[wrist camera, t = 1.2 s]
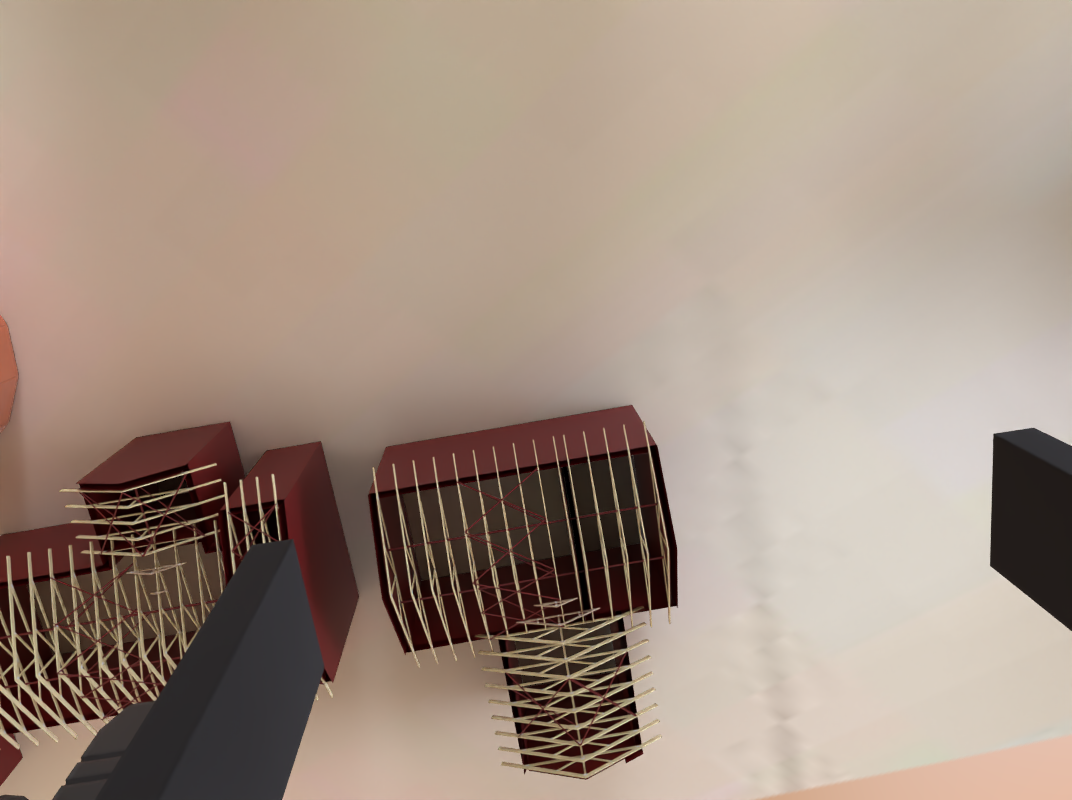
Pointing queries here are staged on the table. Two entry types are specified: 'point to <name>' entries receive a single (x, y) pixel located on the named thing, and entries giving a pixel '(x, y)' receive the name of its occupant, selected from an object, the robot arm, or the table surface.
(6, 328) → the terracotta cooler
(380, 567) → the toy houses
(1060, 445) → the robot arm
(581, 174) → the table surface
